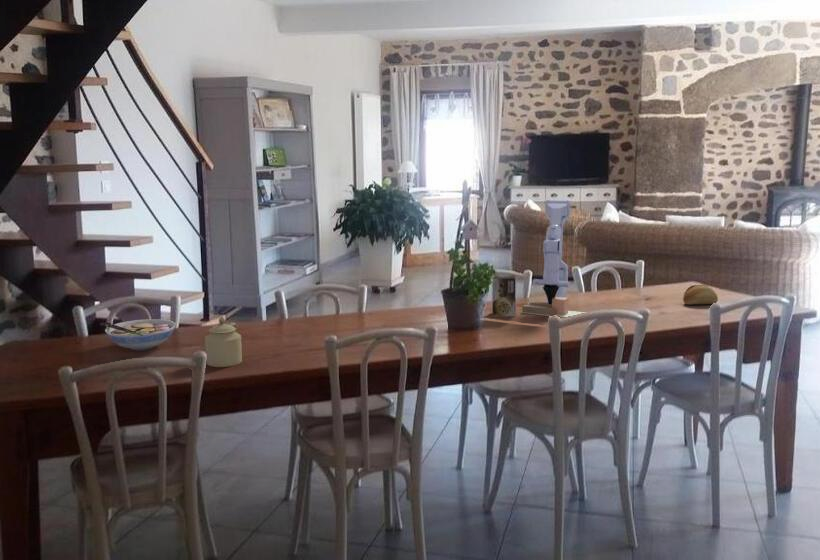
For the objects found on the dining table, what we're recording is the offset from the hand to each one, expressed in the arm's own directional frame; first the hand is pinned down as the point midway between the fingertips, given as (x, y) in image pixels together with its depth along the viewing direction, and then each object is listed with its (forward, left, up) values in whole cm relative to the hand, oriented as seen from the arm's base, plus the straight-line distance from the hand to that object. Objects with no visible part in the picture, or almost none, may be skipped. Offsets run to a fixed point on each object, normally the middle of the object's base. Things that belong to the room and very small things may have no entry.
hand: (550, 303), depth 297 cm
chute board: (0, +2, -4) cm, 5 cm away
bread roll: (-48, +47, -5) cm, 67 cm away
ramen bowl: (+112, -104, -5) cm, 153 cm away
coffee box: (+12, -15, -5) cm, 20 cm away
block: (0, +4, -3) cm, 5 cm away
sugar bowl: (+110, -68, -5) cm, 129 cm away
